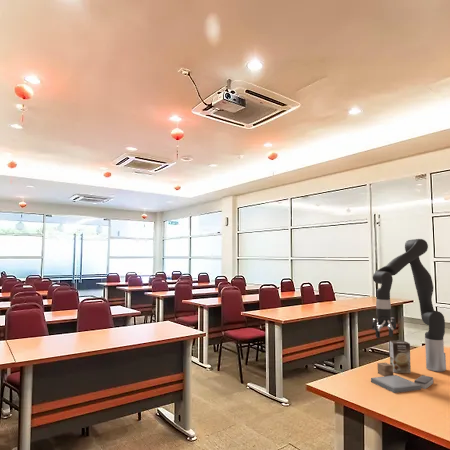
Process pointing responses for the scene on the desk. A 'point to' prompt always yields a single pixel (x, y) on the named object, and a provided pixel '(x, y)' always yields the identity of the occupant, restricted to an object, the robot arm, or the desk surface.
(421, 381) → the felt board eraser
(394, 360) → the coffee box
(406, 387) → the slate platform
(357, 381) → the desk surface
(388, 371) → the walnut cube
